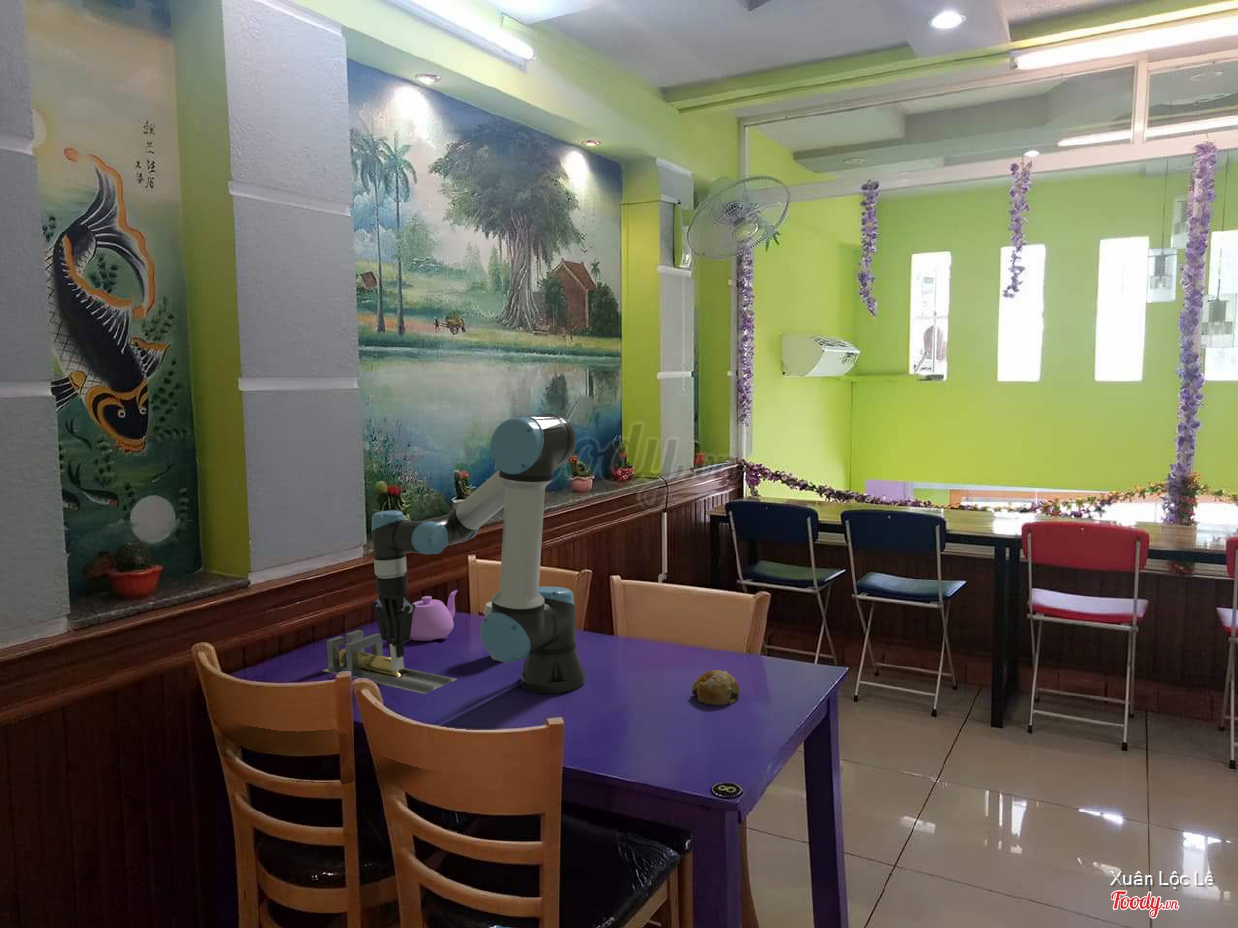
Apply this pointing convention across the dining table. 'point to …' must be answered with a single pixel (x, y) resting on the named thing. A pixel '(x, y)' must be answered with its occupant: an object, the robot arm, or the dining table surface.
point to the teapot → (432, 619)
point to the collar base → (406, 680)
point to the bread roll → (716, 688)
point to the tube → (372, 662)
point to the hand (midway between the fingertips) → (397, 669)
